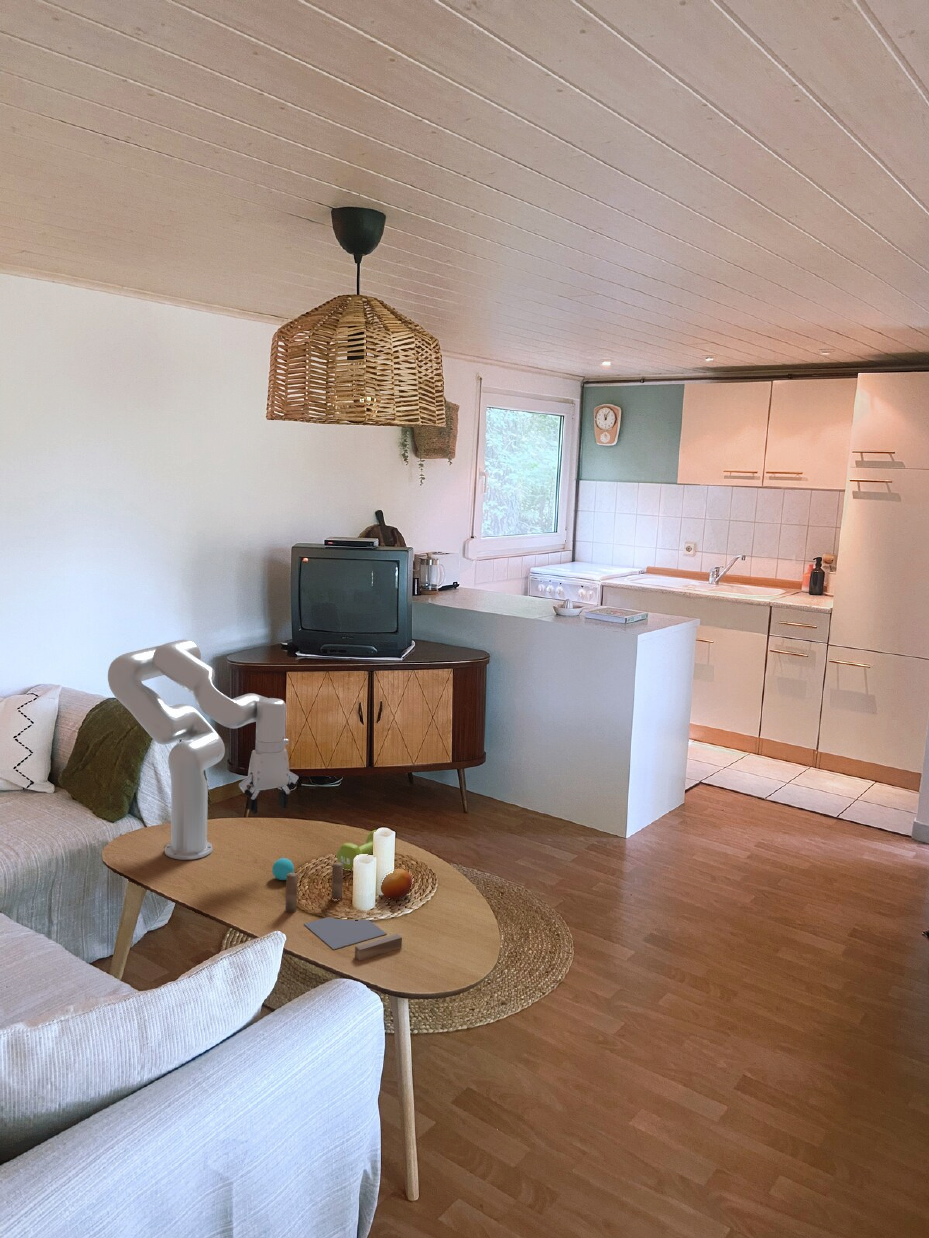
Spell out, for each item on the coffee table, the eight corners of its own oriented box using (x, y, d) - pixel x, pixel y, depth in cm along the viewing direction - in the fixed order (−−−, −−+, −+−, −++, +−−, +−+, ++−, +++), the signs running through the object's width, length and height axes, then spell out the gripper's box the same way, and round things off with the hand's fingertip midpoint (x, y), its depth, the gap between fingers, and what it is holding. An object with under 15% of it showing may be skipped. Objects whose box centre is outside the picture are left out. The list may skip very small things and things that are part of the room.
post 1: (283, 909, 224) (284, 874, 222) (293, 907, 225) (294, 871, 224) (288, 913, 222) (289, 878, 220) (298, 911, 223) (299, 875, 222)
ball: (268, 877, 241) (268, 857, 240) (287, 873, 244) (288, 853, 244) (277, 885, 237) (278, 864, 236) (297, 880, 240) (297, 860, 239)
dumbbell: (355, 876, 245) (356, 850, 244) (333, 868, 250) (334, 842, 249) (393, 857, 259) (394, 833, 258) (371, 850, 263) (372, 826, 262)
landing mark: (303, 924, 217) (303, 923, 217) (355, 910, 225) (355, 909, 225) (333, 949, 206) (333, 948, 206) (386, 934, 214) (386, 933, 214)
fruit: (414, 900, 230) (399, 871, 229) (387, 912, 231) (372, 883, 231) (422, 887, 237) (408, 859, 237) (396, 898, 239) (382, 871, 239)
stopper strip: (354, 956, 203) (355, 945, 203) (396, 943, 210) (397, 933, 210) (359, 960, 202) (359, 949, 202) (401, 947, 209) (402, 937, 208)
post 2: (329, 897, 231) (330, 863, 230) (338, 895, 233) (339, 861, 232) (334, 901, 229) (336, 867, 228) (343, 899, 231) (345, 865, 230)
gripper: (293, 738, 251) (291, 800, 254) (233, 746, 241) (231, 810, 243) (306, 745, 246) (304, 808, 248) (245, 753, 235) (243, 819, 238)
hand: (268, 809), depth 246 cm, fingers open, 7 cm apart
